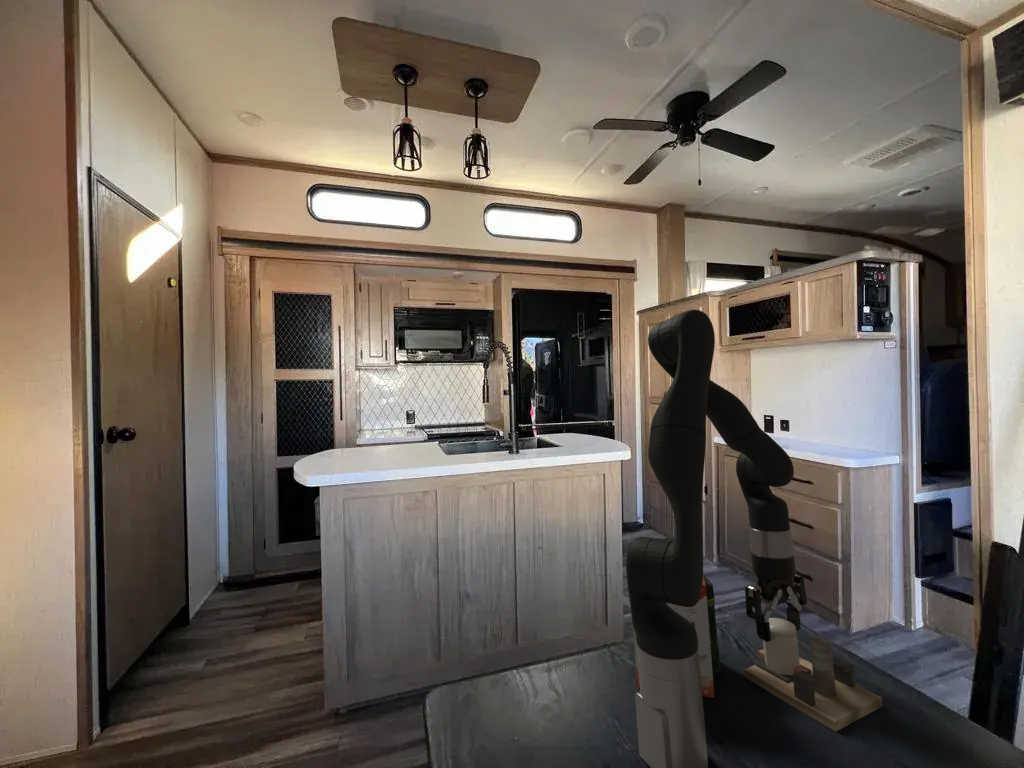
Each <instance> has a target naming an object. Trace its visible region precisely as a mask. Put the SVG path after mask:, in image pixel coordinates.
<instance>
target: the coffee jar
mask: <svg viewBox="0 0 1024 768" xmlns="http://www.w3.org/2000/svg"><path fill="white" fill-rule="evenodd" d="M704 581H705V585H706V594H707V607H708V620H709V633H710V646H711V659H712V672H713V676H714V675H716V674H719V673H720V671H721V662H720V661H721V660H720V651H719V642H718V641H719V640H718V632H717V631H718V629H717V620H716V605H715V603H716V602H715V599H716V598H715V592H714V585H713V583H712V582H711V581H710V580H709V579H708V577H706V576H705V575H704Z"/></svg>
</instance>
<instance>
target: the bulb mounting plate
mask: <svg viewBox="0 0 1024 768" xmlns="http://www.w3.org/2000/svg"><path fill="white" fill-rule="evenodd" d="M809 645H810V646H809V647H810V658H811V662H810V661H808V660H806V659H804V658H802V657H800V656H799V661H800V665H802V666H804V667H806V668H808V669H810V670H811V671H812V672H811V673H809V674H808V673H806V672H804V671H800V672H798V673H796V674H793V681H791V682H788V683H786V682H784V681H782V680H781V679H779V678H777V677H775V676H773V675H772V674H770V673H768V672H766V671H764V670H763V669H761V668H759V667H757V666H755V664H754V665H752V666H749V667H746V668H744V669H743V674H744V675H743V676H744V678H745V679H747V680H749V681H750V682H752V683H753V684H755V685H757V686H758V687H761V688H762V689H764V690H765V691H767V692H769V693H770V694H772V695H774V697H777V698H779V699H780V700H782V701H783V702H785V703H787V704H788V705H790V706H792V707H794V708H795V709H797V710H798V711H801V713H804V714H806V715H807V716H809V717H811V718H812V719H813V720H816V721H817V722H819V723H820V724H822V725H823V726H825V727H827V728H829V729H831V730H832V731H834V732H838V731H840V730H841V729H843V728H845V727H847V726H849V725H851V724H852V723H854V722H856V721H858V720H860V719H862V718H864V717H866V716H867V715H870V714H871V713H873V712H875V711H876V710H879V709H880V708H883V706H884V705H883V697H882V696H879V695H877V694H875V693H873V692H871V691H870V690H867V689H865V688H863V687H862V686H859V685H857V684H855V673H854V666H853V664H852V663H851V662H849V661H847V660H844V659H842V658H840V657H837V656H833V650H832V643H831V642H830V641H828V640H826V639H823V638H820V637H813V638H810V639H809Z"/></svg>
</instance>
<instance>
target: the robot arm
mask: <svg viewBox="0 0 1024 768" xmlns="http://www.w3.org/2000/svg"><path fill="white" fill-rule="evenodd" d="M715 337H716V335H715V329H714V325H713V323H712V321H711V319H710V317H709V316H708V315H707V313H705V312H704V311H703V310H700V309H690V310H687V311H683V312H681V313H678V314H676V315H674V316H672V317H669V318H667V319H666V320H664V321H661V322H660V323H657V324H656V325H654V326H653V327H651V329H650V330H649V333H648V335H647V344H648V345H647V346H648V348H649V351H650V352H651V355H652V356H653V358H654V359H655V361H656V362H657V364H659V365H660V366H661V368H662V369H663V370H664V371H665V372H666V373H667V374H668V375H669V376H670V377H671V378H672V379H673V380H672V382H671V384H670V386H669V388H668V389H667V391H666V392H665V395H664V396H663V398H662V400H661V401H660V402H659V404H658V407H657V409H656V411H654V415H653V417H652V421H651V425H650V429H649V442H648V449H647V450H648V451H647V454H648V455H647V456H648V461H649V462H648V463H649V465H650V466H651V469H652V471H653V473H654V475H655V478H656V479H657V481H658V483H659V485H660V487H661V488H662V490H663V492H664V493H665V495H666V497H667V499H668V503H669V505H670V507H671V510H672V513H673V516H674V521H675V523H674V524H675V540H671V539H663V538H656V537H650V536H637V537H636V538H634V539H633V540H632V541H631V542H630V543H629V546H628V549H627V551H626V552H627V553H626V559H625V570H626V572H625V573H626V583H627V591H628V597H629V605H630V607H629V608H630V614H631V615H630V616H631V624H632V628H634V629H633V632H634V631H635V634H636V642H637V655H638V670H639V684H640V687H639V691H638V692H635V694H634V698H635V700H634V701H635V711H636V712H635V713H636V725H637V727H636V728H637V741H638V749H639V750H638V753H639V756H640V757H639V758H641V759H642V760H643V761H644V762H645V764H647V765H648V766H649V767H650V768H709V761H708V759H709V758H708V748H707V747H708V746H707V737H706V726H705V723H706V722H705V712H704V711H705V710H704V701H703V700H704V699H703V696H702V686H701V674H700V662H699V650H698V638H697V632H696V629H695V627H694V626H693V625H692V623H691V622H690V621H688V620H687V619H686V618H684V617H683V616H681V615H680V614H678V613H677V612H675V611H674V610H673V609H671V608H670V607H669V606H668V605H667V604H666V603H670V604H674V605H679V606H684V607H693V606H695V605H696V604H697V603H698V601H699V599H700V596H701V592H702V585H703V575H704V547H703V544H704V542H703V540H704V538H703V491H704V490H703V486H704V475H705V474H704V472H705V460H706V458H705V457H706V445H707V444H706V443H707V418H708V420H709V421H710V422H711V424H712V425H713V427H714V428H715V430H716V431H717V433H718V435H720V437H721V439H722V441H723V442H724V443H725V444H726V445H727V447H729V449H731V450H733V451H735V452H738V453H740V454H739V455H738V456H737V458H736V463H735V472H736V477H737V480H738V483H739V486H740V488H741V491H742V495H743V497H744V500H745V502H746V504H747V509H748V510H747V511H748V520H749V521H748V522H749V523H748V524H749V547H750V557H751V558H750V559H751V568H752V572H753V574H754V575H755V576H756V579H757V580H756V581H757V582H756V585H749V584H746V585H745V587H744V593H745V594H744V595H745V611H746V612H745V614H746V617H748V618H749V619H753V620H755V623H756V625H755V626H756V635H757V636H758V638H759V639H760V640H762V641H763V640H764V641H766V642H769V641H771V634H770V624H769V622H768V620H769V618H771V617H770V616H771V614H772V613H774V612H775V611H776V608H777V607H778V606H779V605H781V604H785V606H786V608H785V612H786V621H789V622H791V623H793V624H794V625H795V627H796V632H797V631H799V630H801V615H800V612H801V610H802V607H803V606H807V604H808V601H807V594H806V593H807V591H806V585H805V579H804V575H801V574H798V573H797V569H796V561H795V552H794V542H793V536H792V533H791V526H790V524H791V523H790V516H789V507H788V504H787V501H785V500H784V499H782V498H781V497H779V496H777V495H775V494H774V493H773V492H772V489H771V487H773V488H782V487H785V486H787V485H788V484H790V483H791V482H792V480H793V478H794V476H795V475H794V474H795V469H794V465H793V462H792V459H791V457H790V456H789V453H787V452H786V450H785V449H784V448H783V447H781V446H780V444H779V443H777V441H775V440H774V439H773V438H772V437H771V436H770V435H768V433H766V432H765V431H764V430H763V429H761V427H760V425H759V424H758V422H757V420H755V418H754V416H753V415H752V413H751V411H750V410H749V409H748V407H747V406H746V404H745V403H744V402H743V401H742V400H741V399H740V398H738V396H737V395H735V394H734V393H732V392H731V391H729V390H727V389H726V388H724V387H722V386H721V385H719V384H718V383H716V382H714V381H713V380H712V379H711V372H712V366H713V361H714V353H715V346H716V344H715V343H716V338H715ZM798 594H799V596H798ZM763 600H764V601H765V602H766V603H767V604H766V603H764V602H763ZM665 602H666V603H665ZM753 608H754V610H753ZM763 609H764V611H763V613H762V610H763Z"/></svg>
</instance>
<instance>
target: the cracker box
mask: <svg viewBox="0 0 1024 768" xmlns="http://www.w3.org/2000/svg"><path fill="white" fill-rule="evenodd" d="M704 576H705V575H704V574H703V585H702V592H701V596H700V599H699V601H698V603H697V604H696V605H695V606H693V607H684V606H679V605H674V604H670V603H666V602H665V603H666V604H667V605H668V606H669V607H670V608H671V609H673V610H674V611H675V612H677V613H678V614H680V615H681V616H683V617H684V618H686V619H687V620H688V621H690V622H691V623H692V625H693V626H694V627H695V629H696V632H697V638H698V650H699V662H700V674H701V686H702V697H705V698H706V697H707V698H711V699H714V698H715V690H714V689H715V687H714V686H715V685H714V675H713V672H712V659H711V646H710V633H709V620H708V607H707V594H706V585H705V581H704ZM632 628H633V627H632ZM633 643H634V654H635V655H634V656H635V658H634V659H635V671H636V672H635V673H636V683H637V684H636V686H637V687H638V688H640V684H639V670H638V655H637V642H636V634H635V631H634V628H633Z"/></svg>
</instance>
